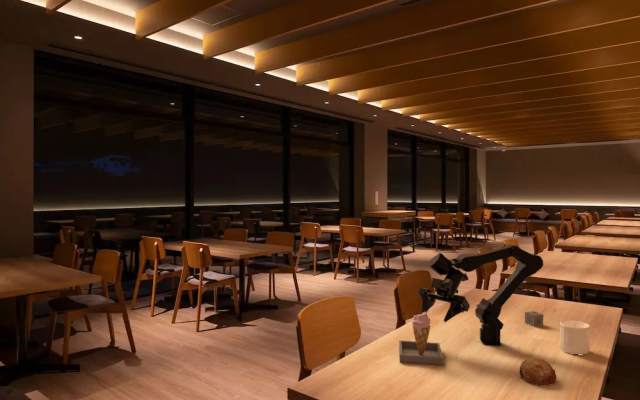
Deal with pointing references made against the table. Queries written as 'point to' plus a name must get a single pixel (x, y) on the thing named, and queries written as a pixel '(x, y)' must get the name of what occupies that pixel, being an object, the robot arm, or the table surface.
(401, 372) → the table surface
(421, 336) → the ice cream cone
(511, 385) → the table surface
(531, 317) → the dice cube
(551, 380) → the bread roll
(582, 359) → the table surface
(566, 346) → the cup
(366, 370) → the table surface
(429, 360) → the tray
